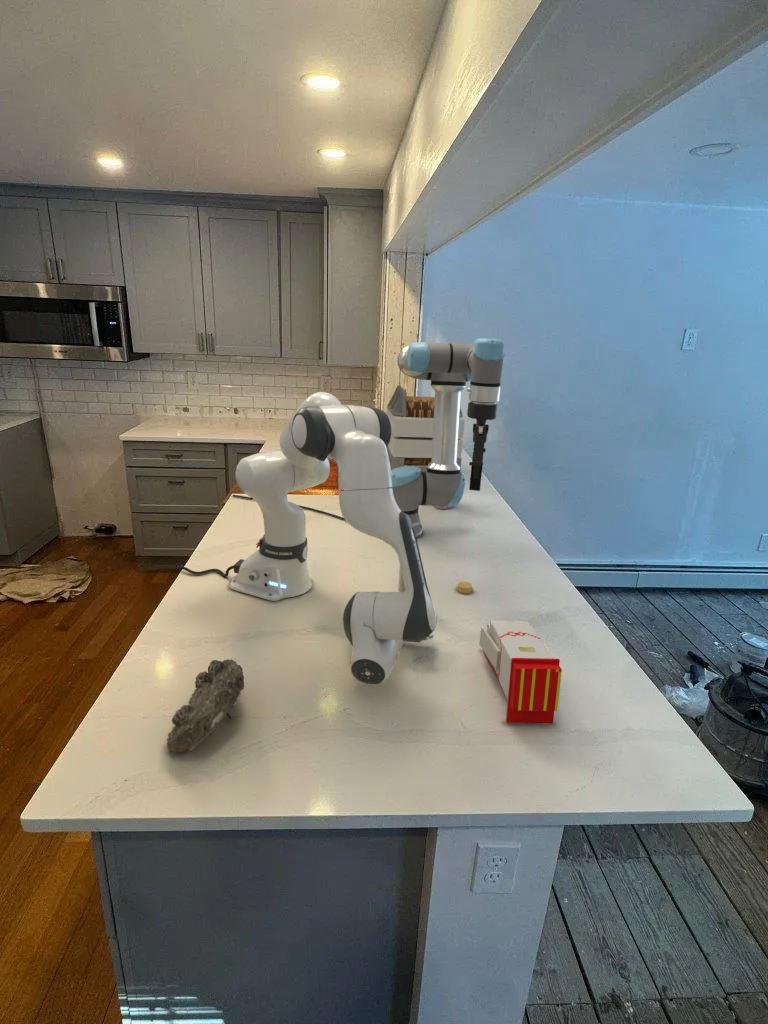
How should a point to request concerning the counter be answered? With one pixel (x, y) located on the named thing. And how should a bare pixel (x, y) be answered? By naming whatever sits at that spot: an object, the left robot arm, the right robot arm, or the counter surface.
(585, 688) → the counter surface
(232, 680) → the fossil
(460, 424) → the white storage drawers
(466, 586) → the cap
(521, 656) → the toy
